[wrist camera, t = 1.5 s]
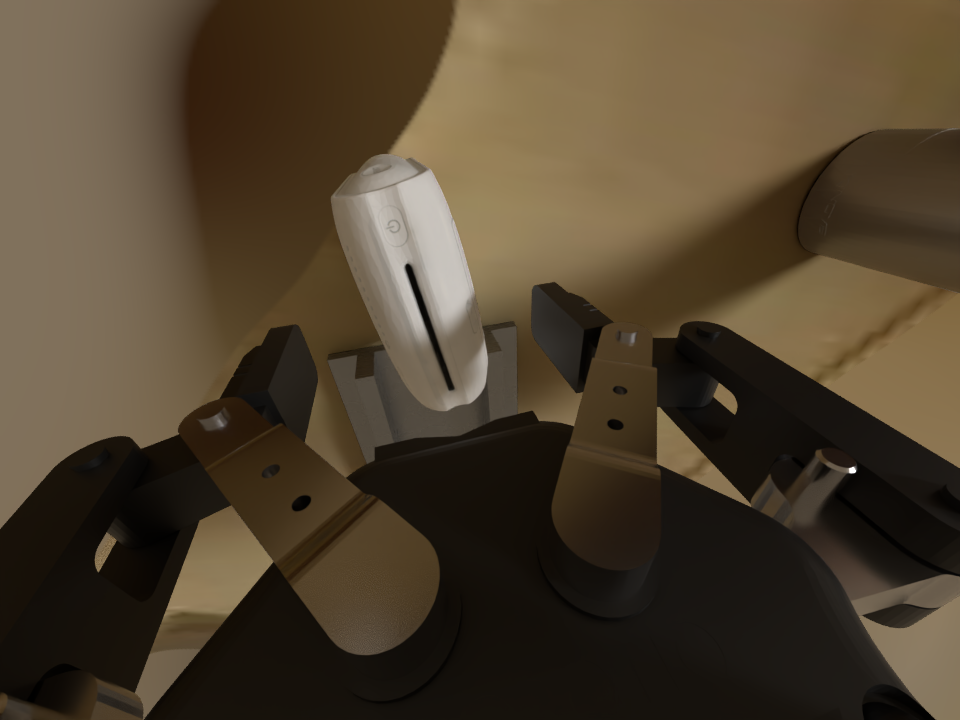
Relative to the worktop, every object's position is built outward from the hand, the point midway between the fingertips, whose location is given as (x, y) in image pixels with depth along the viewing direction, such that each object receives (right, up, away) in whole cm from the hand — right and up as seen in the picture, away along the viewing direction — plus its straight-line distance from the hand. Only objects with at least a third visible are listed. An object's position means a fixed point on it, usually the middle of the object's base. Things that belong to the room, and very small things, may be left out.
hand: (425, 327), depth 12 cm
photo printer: (-3, +6, +10) cm, 13 cm away
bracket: (-2, -7, +19) cm, 20 cm away
